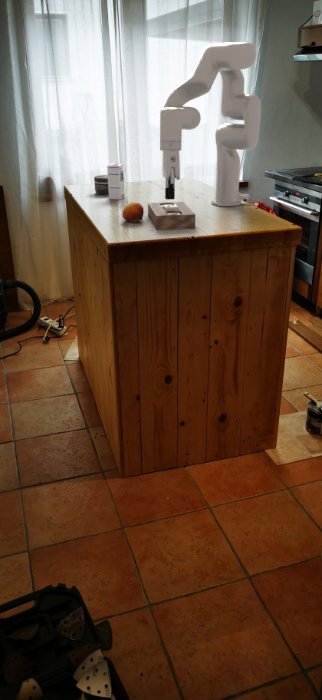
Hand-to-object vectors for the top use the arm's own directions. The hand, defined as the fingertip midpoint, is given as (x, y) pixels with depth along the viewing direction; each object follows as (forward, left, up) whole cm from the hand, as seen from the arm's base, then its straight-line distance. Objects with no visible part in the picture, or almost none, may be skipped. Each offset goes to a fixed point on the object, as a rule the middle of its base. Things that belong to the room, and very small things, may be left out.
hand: (169, 198), depth 205 cm
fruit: (+13, -4, -9) cm, 16 cm away
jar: (+20, -60, -9) cm, 64 cm away
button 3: (0, +7, -6) cm, 9 cm away
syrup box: (+16, -48, -9) cm, 52 cm away
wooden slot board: (0, 0, -9) cm, 9 cm away
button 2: (0, 0, -5) cm, 5 cm away
